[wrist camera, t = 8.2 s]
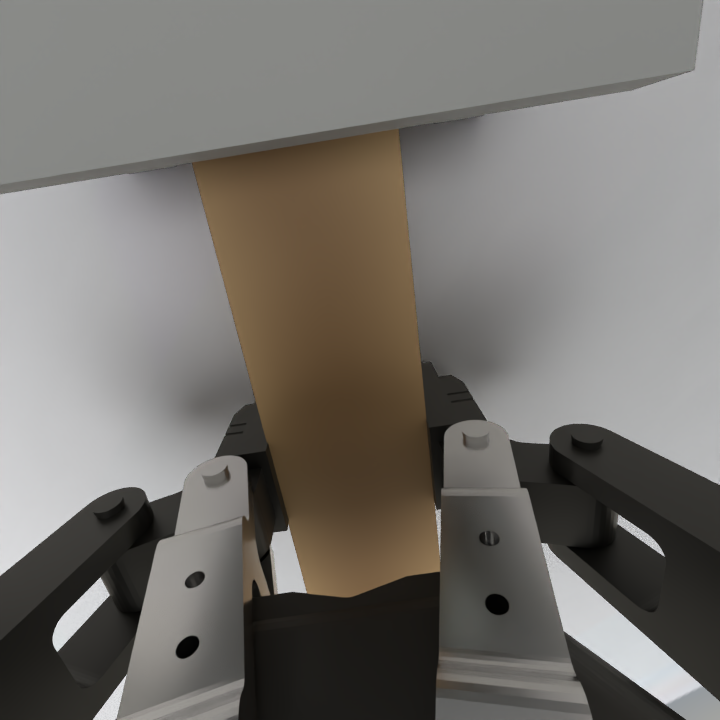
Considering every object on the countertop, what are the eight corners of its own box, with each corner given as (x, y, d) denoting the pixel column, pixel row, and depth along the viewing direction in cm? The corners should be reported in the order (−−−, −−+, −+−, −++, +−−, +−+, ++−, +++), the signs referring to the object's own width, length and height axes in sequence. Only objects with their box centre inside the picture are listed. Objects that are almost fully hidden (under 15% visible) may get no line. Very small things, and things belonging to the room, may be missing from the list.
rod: (342, -176, 9) (343, -451, 5) (418, 496, 15) (444, 598, 11) (170, -148, 9) (42, -396, 5) (319, 510, 15) (313, 616, 11)
